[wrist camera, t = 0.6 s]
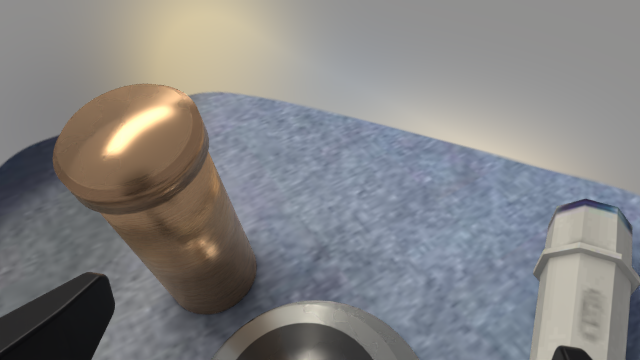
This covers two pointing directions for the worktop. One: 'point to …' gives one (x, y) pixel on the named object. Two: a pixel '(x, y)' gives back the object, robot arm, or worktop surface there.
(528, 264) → the worktop surface
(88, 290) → the robot arm
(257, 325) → the ring
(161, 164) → the copper capped cylinder
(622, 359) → the grey piece
